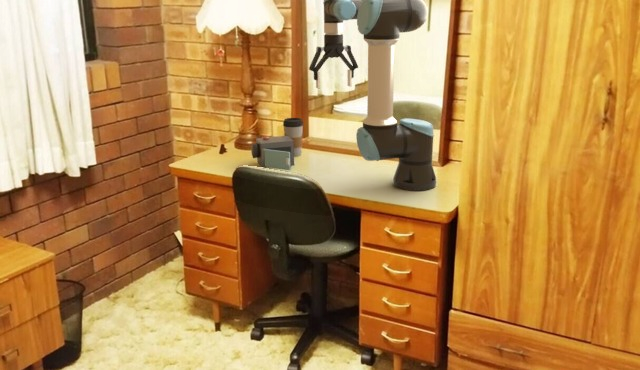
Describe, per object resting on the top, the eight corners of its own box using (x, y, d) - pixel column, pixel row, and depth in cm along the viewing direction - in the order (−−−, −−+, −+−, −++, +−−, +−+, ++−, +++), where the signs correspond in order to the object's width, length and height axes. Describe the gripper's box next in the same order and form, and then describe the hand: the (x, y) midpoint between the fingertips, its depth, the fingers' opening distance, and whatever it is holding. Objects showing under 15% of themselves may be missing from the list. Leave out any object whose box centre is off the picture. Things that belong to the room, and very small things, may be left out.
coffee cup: (281, 153, 265) (280, 118, 260) (299, 151, 268) (298, 116, 264) (288, 158, 258) (287, 122, 253) (306, 155, 261) (306, 120, 256)
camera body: (294, 165, 248) (293, 138, 245) (255, 169, 244) (254, 142, 240) (288, 159, 257) (287, 133, 253) (250, 163, 252) (249, 136, 249)
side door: (261, 167, 243) (260, 149, 241) (263, 166, 245) (262, 148, 242) (288, 171, 238) (288, 152, 236) (290, 169, 239) (290, 151, 237)
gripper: (359, 31, 256) (359, 83, 263) (300, 34, 249) (301, 87, 255) (366, 33, 249) (365, 86, 256) (306, 35, 242) (307, 90, 249)
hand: (333, 87), depth 256 cm, fingers open, 13 cm apart
